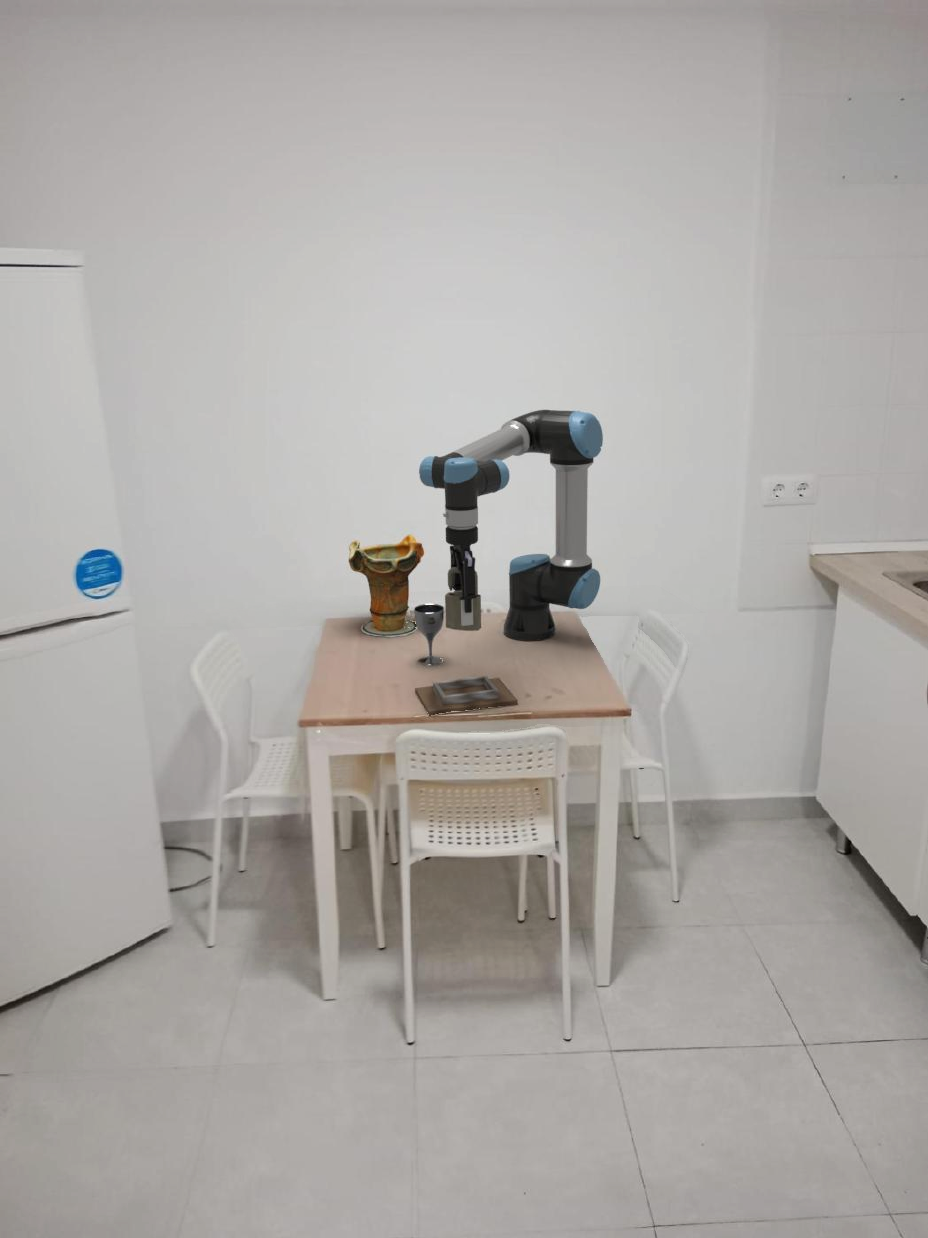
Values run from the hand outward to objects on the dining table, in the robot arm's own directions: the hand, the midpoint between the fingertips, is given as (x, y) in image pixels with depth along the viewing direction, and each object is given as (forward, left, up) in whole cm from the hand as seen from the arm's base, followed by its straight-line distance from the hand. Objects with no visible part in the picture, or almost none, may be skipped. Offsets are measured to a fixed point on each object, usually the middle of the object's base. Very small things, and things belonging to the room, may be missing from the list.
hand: (463, 620), depth 225 cm
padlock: (0, 0, -2) cm, 2 cm away
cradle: (0, 0, -20) cm, 20 cm away
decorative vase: (+7, -59, -21) cm, 63 cm away
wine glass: (+2, -28, -20) cm, 35 cm away
